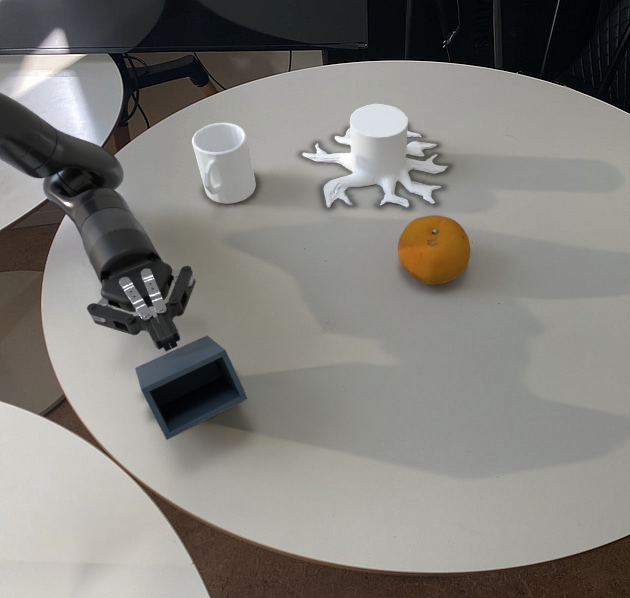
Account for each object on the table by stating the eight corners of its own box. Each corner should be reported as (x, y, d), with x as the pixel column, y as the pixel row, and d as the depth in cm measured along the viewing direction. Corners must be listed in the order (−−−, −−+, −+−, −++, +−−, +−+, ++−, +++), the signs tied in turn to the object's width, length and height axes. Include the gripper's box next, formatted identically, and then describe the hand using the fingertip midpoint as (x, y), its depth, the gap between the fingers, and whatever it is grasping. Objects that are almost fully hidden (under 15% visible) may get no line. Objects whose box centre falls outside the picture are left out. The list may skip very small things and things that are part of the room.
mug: (190, 217, 94) (174, 166, 86) (214, 170, 102) (202, 119, 94) (241, 223, 94) (229, 172, 86) (261, 175, 101) (252, 124, 94)
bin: (134, 368, 71) (140, 389, 60) (207, 335, 74) (225, 349, 63) (157, 411, 72) (166, 440, 61) (227, 377, 76) (248, 398, 65)
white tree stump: (459, 204, 98) (466, 156, 91) (306, 214, 95) (300, 166, 88) (435, 123, 113) (439, 77, 105) (301, 130, 110) (296, 83, 102)
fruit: (387, 284, 86) (388, 244, 80) (409, 236, 93) (411, 196, 87) (457, 302, 85) (463, 264, 79) (474, 252, 91) (481, 213, 85)
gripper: (54, 249, 71) (98, 351, 62) (164, 210, 76) (219, 298, 67) (78, 291, 76) (121, 390, 67) (178, 251, 81) (231, 338, 72)
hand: (170, 344), depth 67 cm, fingers closed
